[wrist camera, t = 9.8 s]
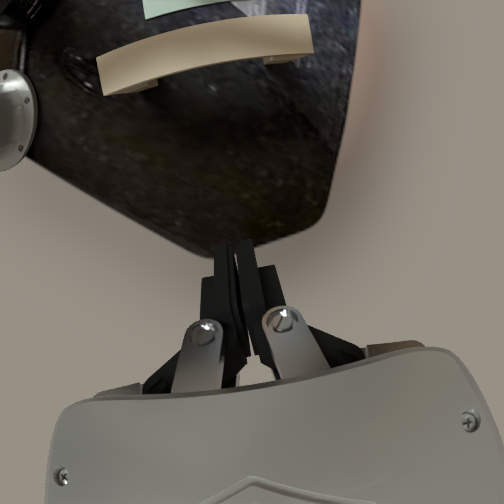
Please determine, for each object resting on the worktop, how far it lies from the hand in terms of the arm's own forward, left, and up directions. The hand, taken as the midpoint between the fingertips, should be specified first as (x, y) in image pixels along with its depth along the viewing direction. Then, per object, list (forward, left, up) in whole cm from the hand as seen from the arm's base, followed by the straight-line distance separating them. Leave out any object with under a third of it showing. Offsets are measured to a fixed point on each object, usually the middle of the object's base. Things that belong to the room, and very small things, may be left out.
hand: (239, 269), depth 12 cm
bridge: (0, +11, -17) cm, 20 cm away
